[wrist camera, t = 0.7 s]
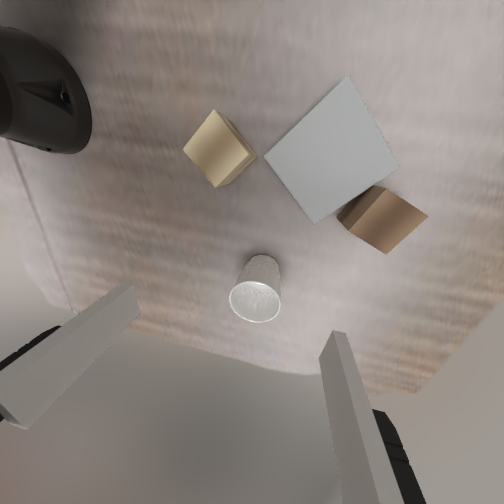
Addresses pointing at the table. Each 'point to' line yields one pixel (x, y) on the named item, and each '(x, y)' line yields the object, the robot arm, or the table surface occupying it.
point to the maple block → (219, 150)
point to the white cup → (257, 290)
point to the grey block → (332, 153)
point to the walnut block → (380, 218)
